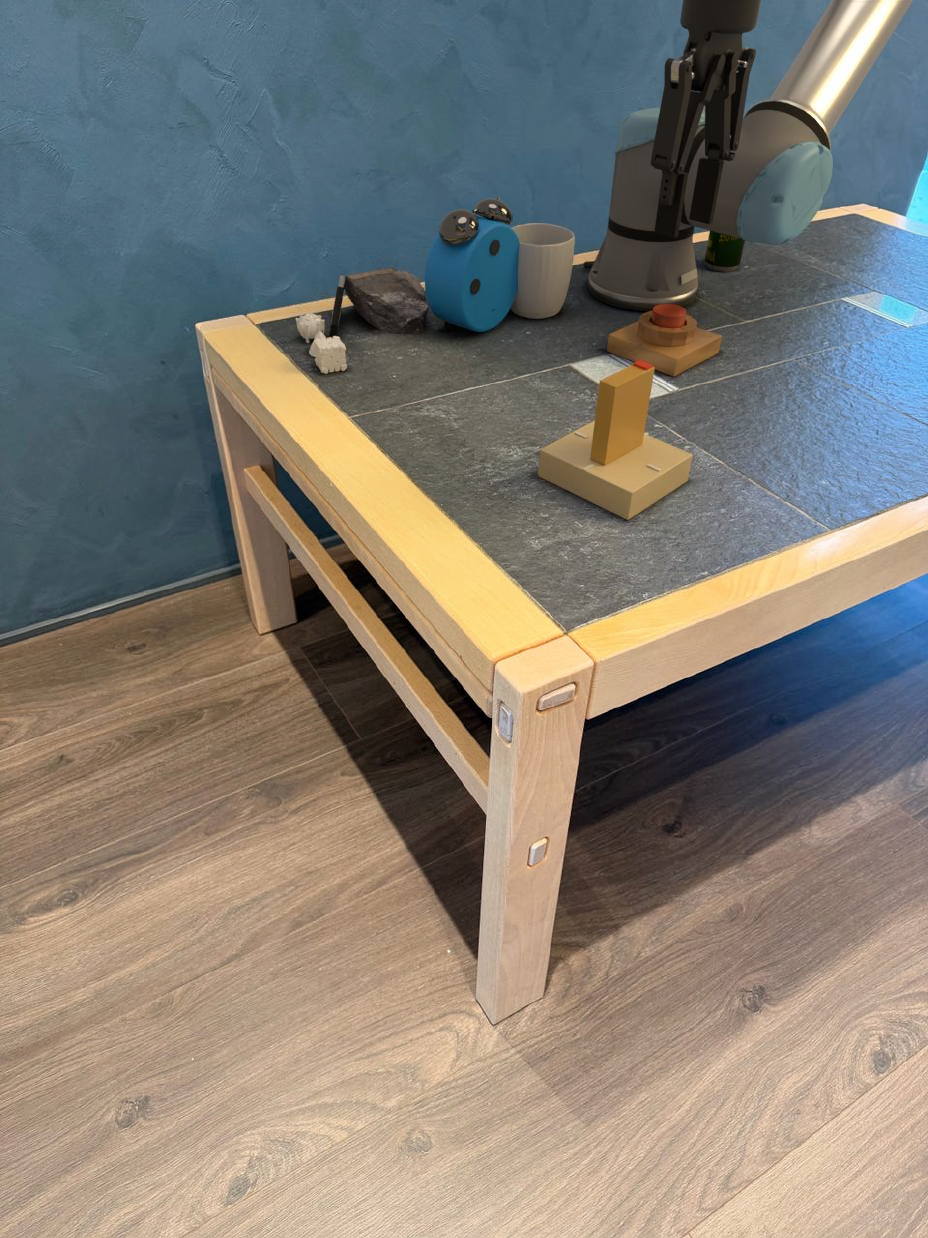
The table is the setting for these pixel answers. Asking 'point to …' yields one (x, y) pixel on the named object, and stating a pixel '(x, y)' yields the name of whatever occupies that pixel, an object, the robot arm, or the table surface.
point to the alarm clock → (474, 267)
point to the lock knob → (621, 412)
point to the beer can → (723, 252)
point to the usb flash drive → (337, 308)
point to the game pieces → (322, 344)
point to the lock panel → (615, 472)
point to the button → (668, 316)
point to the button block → (664, 344)
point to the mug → (543, 269)
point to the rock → (389, 300)
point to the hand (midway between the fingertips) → (683, 227)
